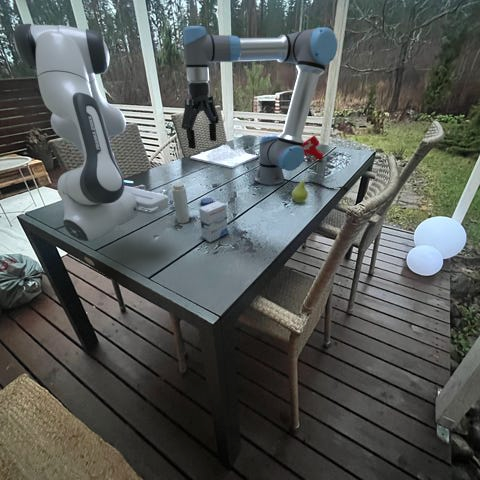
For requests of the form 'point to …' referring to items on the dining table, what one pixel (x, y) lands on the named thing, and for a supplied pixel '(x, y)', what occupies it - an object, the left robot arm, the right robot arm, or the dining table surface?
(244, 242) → the dining table surface
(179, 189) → the jar
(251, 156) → the relief map
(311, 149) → the toy gun
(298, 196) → the fruit
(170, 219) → the dining table surface
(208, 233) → the ink box
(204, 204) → the lid
